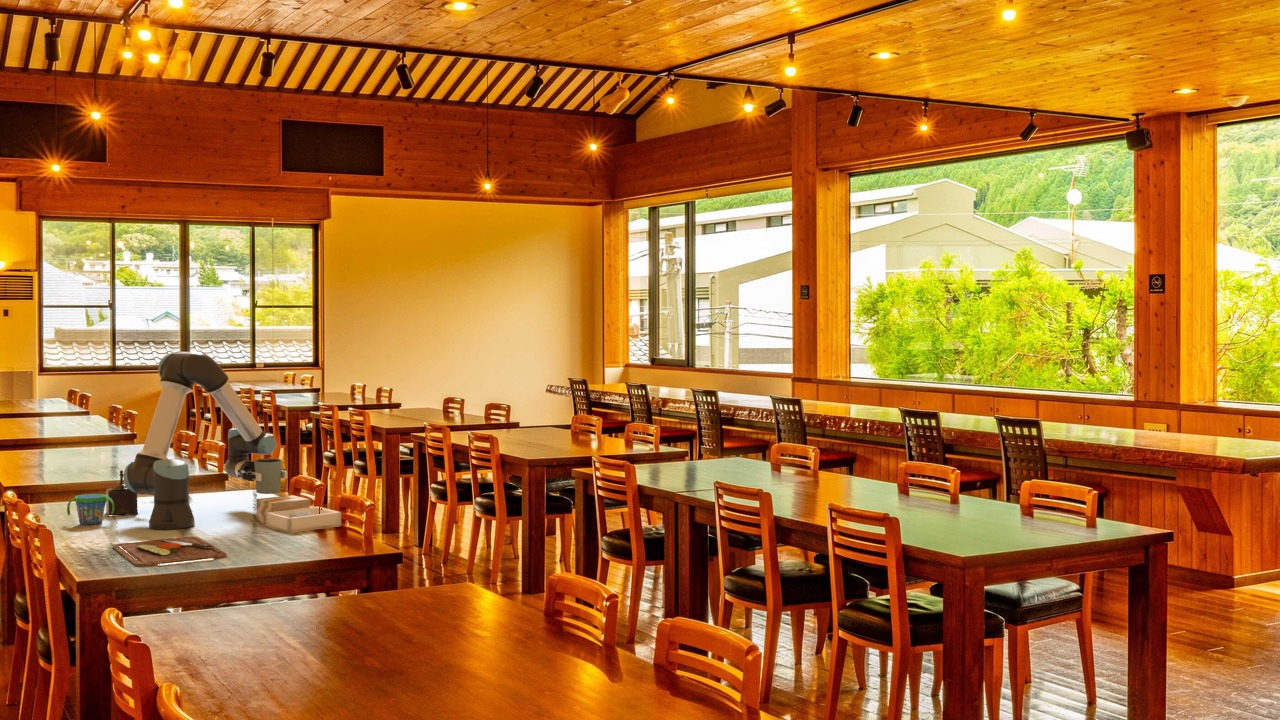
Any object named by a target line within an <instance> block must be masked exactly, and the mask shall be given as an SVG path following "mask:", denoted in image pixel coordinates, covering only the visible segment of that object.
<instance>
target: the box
mask: <svg viewBox="0 0 1280 720" xmlns="http://www.w3.org/2000/svg"><path fill="white" fill-rule="evenodd" d="M319 507H320V514H319ZM321 508H322V510H321ZM297 512H309V513H313V515H309V516H301V517H293V518H290V516H289V513H297ZM265 517H266V523H265V528H270V529H273V530H276V531H280V532H283V533H286V534H291V533H300V532H307V531H314V530H324V529H330V528H336V527H337V528H338V527H342V512H341V511H338V510H333V509H328V508H325V507H321V506H312V507H311V506H310V507H309V508H301V509H292V510H283V511H275V512H266V513H265Z"/></svg>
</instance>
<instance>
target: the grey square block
mask: <svg viewBox="0 0 1280 720" xmlns="http://www.w3.org/2000/svg"><path fill="white" fill-rule="evenodd" d="M309 515H313V513H309V512H297V513H289V516H290V518H293V517H301V516H309Z"/></svg>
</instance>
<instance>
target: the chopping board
mask: <svg viewBox="0 0 1280 720" xmlns="http://www.w3.org/2000/svg"><path fill="white" fill-rule="evenodd" d="M119 546H121V547H122V548H123V549H124V550H126V551H127V552H128V553H129V554H130V555H132V556H133V557H134V558H135V559H137V560H135V559H134V558H133V557H132V556H130V555H129V554H128V553H126V552H125V551H124V550H123V549H121V548H120V547H119ZM113 548H114V549H116V550H117V551H118V552H119V553H120V554H119V553H118V552H117V551H116V550H115V551H116V552H117V553H118V554H119V555H121V554H122V555H123V556H124V557H126V558H127V559H128V560H129V561H131V562H132V563H133V564H134V565H136V566H135V567H137V566H147V567H153V566H152V565H157V567H158V566H161V567H166V566H165V565H170V566H176V565H177V566H178V565H184V564H185V565H186V564H194V563H204V562H212V561H214V560H217V559H218V560H219V559H224V558H226V557H227V553H226V552H225V551H223V550H221V549H220V548H218V547H216V546H215V545H212V543H210V542H208V541H206V540H204V539H202V538H201V537H199V536H182V537H181V536H179V537H169V538H168V537H167V538H166V537H165V538H159V539H149V540H146V539H145V540H138V541H136V540H135V541H128V542H121V543H119V542H118V543H114V544H113V545H112V549H113ZM114 549H113V550H114ZM122 555H121V556H122ZM123 556H122V557H123ZM124 557H123V558H124ZM126 558H125V559H126ZM127 559H126V560H127ZM128 560H127V561H128ZM129 561H128V562H129ZM131 562H130V563H131ZM139 562H140V563H139ZM132 563H131V564H132ZM133 564H132V565H133ZM159 564H160V565H159ZM134 565H133V566H134Z"/></svg>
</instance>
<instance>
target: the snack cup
mask: <svg viewBox="0 0 1280 720" xmlns="http://www.w3.org/2000/svg"><path fill="white" fill-rule="evenodd" d="M107 499H109V501H110V502H111V504H112V514H113V512H114V502H113V500H112V499H111V498H110V497H107V496H106V494H102V493H90V494H89V493H87V494H86V493H85V494H80V495H75V496H74V497H73V498H71V499H70V500H69V501H68V503H67V506H66V512H67V516H70V515H71V509H70V505H71V503H72V502H73V501H74V502H75V504H76V510H77V516H78V522H79V524H80V525H83V526H87V525H88V526H91V525H100V524H102V523H103V519H104V513H105V512H104V511H105V507H106V500H107ZM99 523H100V524H99Z"/></svg>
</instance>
